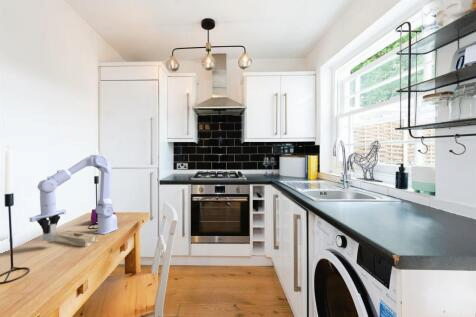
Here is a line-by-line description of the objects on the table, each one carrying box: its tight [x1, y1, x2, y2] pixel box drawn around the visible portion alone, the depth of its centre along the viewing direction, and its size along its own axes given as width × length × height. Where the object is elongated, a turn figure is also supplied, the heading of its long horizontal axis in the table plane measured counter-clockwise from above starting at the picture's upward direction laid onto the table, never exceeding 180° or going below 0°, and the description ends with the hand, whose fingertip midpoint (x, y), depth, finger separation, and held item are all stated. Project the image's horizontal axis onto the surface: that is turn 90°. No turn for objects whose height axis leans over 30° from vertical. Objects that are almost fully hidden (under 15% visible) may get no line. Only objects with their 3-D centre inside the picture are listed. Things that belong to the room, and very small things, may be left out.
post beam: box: [54, 230, 99, 248], centre depth 118 cm, size 6×22×4 cm, turn 69°
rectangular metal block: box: [42, 222, 57, 243], centre depth 112 cm, size 2×6×8 cm, turn 69°
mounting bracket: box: [90, 208, 116, 225], centre depth 155 cm, size 9×8×18 cm
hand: (49, 232), depth 112 cm, fingers closed on rectangular metal block, 2 cm apart
